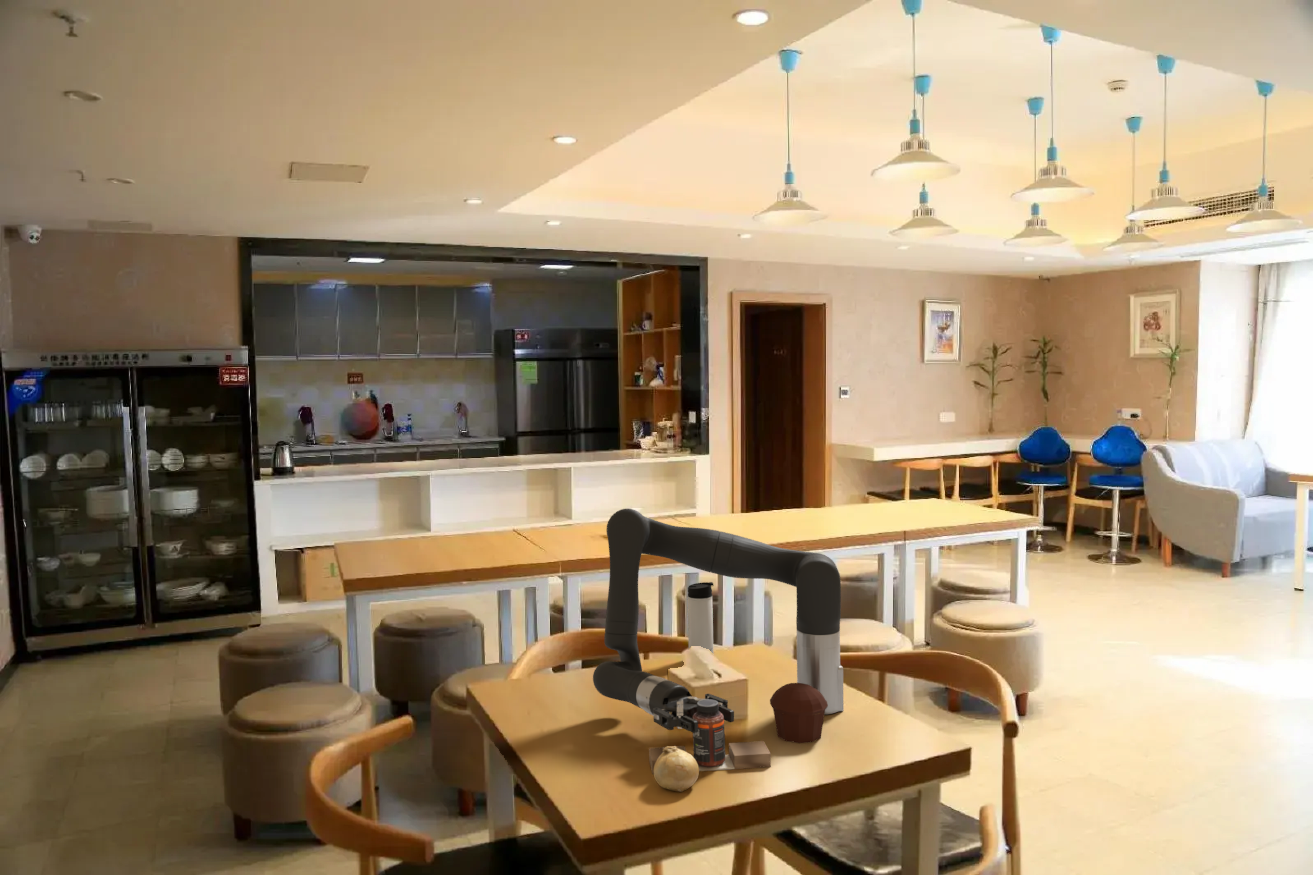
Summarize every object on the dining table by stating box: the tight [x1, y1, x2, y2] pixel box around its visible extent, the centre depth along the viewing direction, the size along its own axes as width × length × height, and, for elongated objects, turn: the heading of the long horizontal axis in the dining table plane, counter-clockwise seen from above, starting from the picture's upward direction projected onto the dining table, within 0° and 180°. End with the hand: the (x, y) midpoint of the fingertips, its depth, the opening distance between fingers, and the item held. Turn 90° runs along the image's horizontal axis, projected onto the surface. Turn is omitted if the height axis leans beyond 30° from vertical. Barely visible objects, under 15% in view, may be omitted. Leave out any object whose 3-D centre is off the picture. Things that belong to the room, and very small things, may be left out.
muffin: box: [769, 682, 828, 744], centre depth 188 cm, size 12×11×10 cm
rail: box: [648, 740, 772, 775], centre depth 175 cm, size 22×6×2 cm, turn 96°
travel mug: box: [687, 581, 714, 654], centre depth 239 cm, size 6×7×20 cm
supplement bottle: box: [692, 698, 726, 767], centre depth 175 cm, size 6×6×11 cm
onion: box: [653, 745, 700, 793], centre depth 166 cm, size 8×8×7 cm
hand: (715, 722), depth 173 cm, fingers open, 8 cm apart
